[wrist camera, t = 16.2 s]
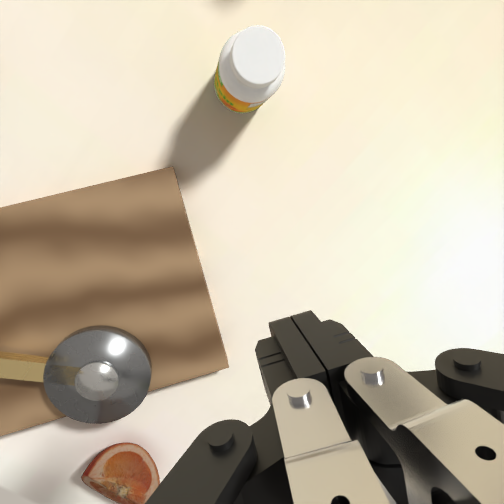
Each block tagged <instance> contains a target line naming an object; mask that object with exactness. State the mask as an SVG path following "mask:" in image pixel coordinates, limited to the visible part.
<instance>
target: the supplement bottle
mask: <svg viewBox="0 0 504 504" xmlns="http://www.w3.org/2000/svg"><path fill="white" fill-rule="evenodd" d="M284 73H285V49H284V46H283V43H282V41H281V39H280V37H279V36H278V35H277V34H276V33H275V32H274V31H273V30H271V29H270V28H268V27H265V26H260V25H254V26H250V27H247V28H246V29H244V30H242V31H239V32H237V33H235V34H234V35H233V36H231V37H230V38H229V39H228V41H227V42H226V43H225V45H224V46H223V48H222V51H221V53H220V57H219V61H218V65H217V69H216V73H215V78H214V87H215V92H216V95H217V97H218V99H219V100H220V102H221V103H222V104H223V105H224V106H225V107H226V108H227V109H229V110H231V111H233V112H236V113H248V112H252V111H254V110H256V109H257V108H259V107H260V106H261V105H262V104H263V103H264V102H265V101H267V100H268V99H269V98H270V97H271V96H272V95H273V94H274V93H275V92H276V91H277V89H278V88H279V86H280V85H281V83H282V80H283V77H284Z"/></svg>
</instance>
